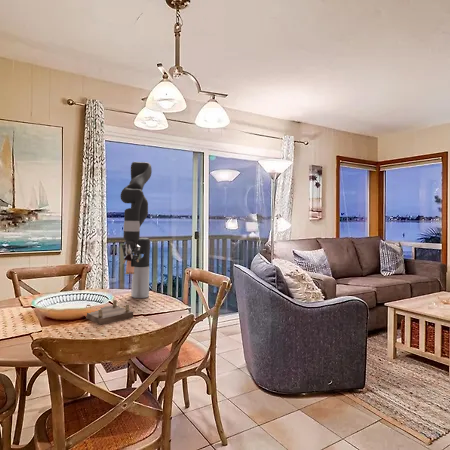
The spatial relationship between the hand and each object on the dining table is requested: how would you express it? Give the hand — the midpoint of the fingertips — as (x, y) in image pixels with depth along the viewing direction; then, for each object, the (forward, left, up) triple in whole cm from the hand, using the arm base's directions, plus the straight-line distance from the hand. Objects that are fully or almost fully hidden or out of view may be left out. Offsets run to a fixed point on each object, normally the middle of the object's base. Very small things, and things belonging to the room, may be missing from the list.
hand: (131, 265), depth 172 cm
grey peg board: (+3, -13, -22) cm, 25 cm away
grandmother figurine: (0, 0, -4) cm, 4 cm away
